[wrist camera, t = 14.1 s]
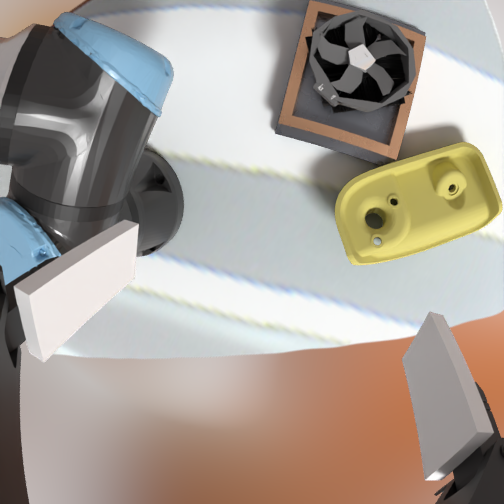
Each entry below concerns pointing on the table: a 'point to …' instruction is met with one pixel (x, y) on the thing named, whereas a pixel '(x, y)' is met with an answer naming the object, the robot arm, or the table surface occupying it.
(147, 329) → the table surface
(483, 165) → the plastic component
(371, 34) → the cpu cooler
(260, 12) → the table surface
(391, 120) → the board
